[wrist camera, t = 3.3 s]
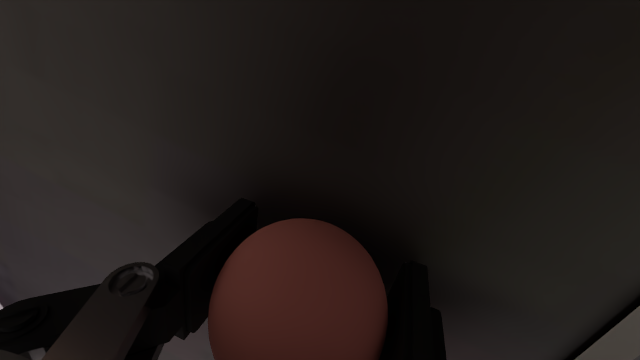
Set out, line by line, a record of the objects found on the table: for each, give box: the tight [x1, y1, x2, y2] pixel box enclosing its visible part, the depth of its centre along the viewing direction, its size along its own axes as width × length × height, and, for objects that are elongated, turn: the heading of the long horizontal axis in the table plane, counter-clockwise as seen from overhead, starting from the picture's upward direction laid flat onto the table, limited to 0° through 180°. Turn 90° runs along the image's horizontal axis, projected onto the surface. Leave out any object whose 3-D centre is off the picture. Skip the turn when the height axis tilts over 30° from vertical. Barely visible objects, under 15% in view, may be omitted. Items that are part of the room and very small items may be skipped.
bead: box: [208, 218, 388, 360], centre depth 9 cm, size 6×6×6 cm
